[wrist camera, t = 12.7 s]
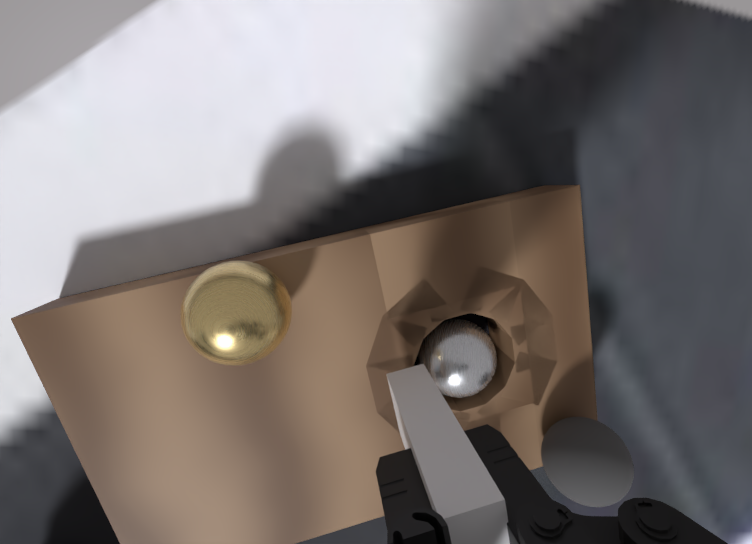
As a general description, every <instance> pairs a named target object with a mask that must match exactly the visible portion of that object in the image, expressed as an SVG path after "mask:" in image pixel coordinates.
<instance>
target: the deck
mask: <svg viewBox="0 0 752 544" xmlns="http://www.w3.org/2000/svg"><path fill="white" fill-rule="evenodd" d="M237 260H240V261H249V262H254V263H257V264H260V265H262V266H264V267H266V268H268V269H269V270H271V271H272V272H273V273H274V274H276V275H277V276H278V277H279V278H280V280H281V281H282V282H283V284H284V285H285V287H286V289H287V291H288V293H289V296H290V299H291V304H292V318H291V323H290V326H289V329H288V332H287V334H286V336H285V338H284V339H283V341H282V342H281V343H280V345H279V346H278V347H277V348H276V349H275V350H274V351H273V352H271V353H270V354H269V355H267V356H266V357H264V358H262V359H260V360H258V361H256V362H253V363H250V364H245V365H237V366H233V365H223V364H219V363H215V362H213V361H210V360H208V359H206V358H205V357H203V356H202V355H200V354H199V353H198V352H197V351H196V350H195V349H194V348H193V347H192V346H191V345H190V343H189V342H188V340H187V339H186V337H185V334H184V332H183V329H182V326H181V305H182V301H183V298H184V295H185V293H186V291H187V289H188V287H189V286H190V285H191V283H192V282H193V281H194V280H195V279H196V278H197V277H198V276H199V275H200V274H201V273H202V272H203V271H205V270H207V269H208V268H210V267H212V266H214V265H217V264H219V263H223V262H227V261H237ZM469 313H474V314H477V315H481V316H484V317H486V318H487V322H488V329H489V335H490V338H491V340H492V342H493V344H494V347H495V350H496V356H497V364H496V370H495V373H494V375H493V378H492V379H491V381H490V382H489V384H488V385H487V386H486V387H485V388H484V389H483V390H481V391H480V392H478V393H477V394H474V395H472V396H468V397H462V398H456V397H450V396H447V395H444V394H442V393H441V394H442V395H443V397H444V399H445V400H446V402H447V404H448V405H449V407H450V409H451V410H452V412H453V414H454V415H455V417H456V419H457V420H458V422H459V424H460V425H461V427H462V429H463V430H464V431H466V430H469V429H473V428H476V427H479V426H483V425H486V424H488V425H490V426H491V427H493V428H494V429H496V430H498V431H499V432H501V433H502V434H503V436H504V437H505V438H506V440H507V441H508V442H509V444H510V445H511V447H512V448H513V449H514V450H515V452H516V453H517V454H518V457H520V458H521V460H522V461H523V462H524V464H525V465H526V466H527V468H528V469H529V470H532V469H535V468H539V467H542V466H543V463H542V458H541V445H542V441H543V438H544V436H545V434H546V432H547V431H548V429H549V428H550V427H551V426H552V425H553V424H555V423H556V422H558V421H560V420H562V419H565V418H569V417H586V418H590V419H593V420H596V421H597V408H596V394H595V381H594V368H593V354H592V341H591V328H590V314H589V301H588V288H587V274H586V261H585V248H584V235H583V221H582V208H581V195H580V185H544V186H540V187H535V188H531V189H527V190H522V191H518V192H514V193H509V194H505V195H501V196H497V197H492V198H488V199H484V200H479V201H475V202H471V203H467V204H462V205H458V206H454V207H449V208H445V209H441V210H437V211H432V212H428V213H424V214H419V215H415V216H411V217H406V218H402V219H398V220H394V221H389V222H385V223H381V224H376V225H372V226H368V227H364V228H359V229H355V230H351V231H346V232H342V233H338V234H333V235H329V236H325V237H321V238H316V239H312V240H308V241H303V242H299V243H295V244H291V245H286V246H282V247H278V248H273V249H269V250H265V251H261V252H256V253H252V254H248V255H243V256H239V257H235V258H230V259H226V260H222V261H218V262H213V263H209V264H205V265H200V266H196V267H192V268H188V269H183V270H179V271H175V272H170V273H166V274H162V275H157V276H153V277H149V278H145V279H140V280H136V281H132V282H127V283H123V284H119V285H115V286H110V287H106V288H102V289H97V290H93V291H89V292H84V293H80V294H76V295H72V296H67V297H63V298H59V299H56V300H54V301H51V302H49V303H47V304H44V305H42V306H40V307H37V308H35V309H33V310H30V311H28V312H25V313H23V314H21V315H18V316H16V317H14V318H11V320H12V322H13V324H14V326H15V328H16V330H17V333H18V335H19V337H20V339H21V341H22V343H23V345H24V347H25V349H26V351H27V353H28V355H29V357H30V359H31V361H32V363H33V365H34V367H35V370H36V372H37V374H38V376H39V378H40V380H41V382H42V384H43V386H44V388H45V390H46V392H47V394H48V396H49V398H50V400H51V402H52V404H53V407H54V409H55V411H56V413H57V415H58V417H59V419H60V421H61V423H62V425H63V427H64V429H65V431H66V433H67V435H68V437H69V439H70V442H71V444H72V446H73V448H74V450H75V452H76V454H77V456H78V458H79V460H80V462H81V464H82V466H83V468H84V470H85V472H86V474H87V476H88V479H89V481H90V483H91V485H92V487H93V489H94V491H95V493H96V495H97V497H98V499H99V501H100V503H101V505H102V507H103V509H104V511H105V513H106V516H107V518H108V520H109V522H110V524H111V526H112V528H113V530H114V532H115V534H116V536H117V538H118V540H119V542H120V544H295V543H299V542H302V541H305V540H308V539H311V538H315V537H318V536H321V535H324V534H327V533H331V532H334V531H337V530H340V529H343V528H347V527H350V526H353V525H356V524H359V523H363V522H366V521H369V520H372V519H375V518H379V517H382V516H385V515H384V510H383V505H382V500H381V496H380V491H379V486H378V481H377V476H376V468H377V465H378V461H379V458H380V457H382V456H385V455H388V454H392V453H395V452H399V451H402V450H405V447H404V444H403V441H402V438H401V435H400V431H399V427H398V423H397V418H396V414H395V410H394V405H393V401H392V397H391V392H390V388H389V384H388V379H387V375H386V374H388V373H391V372H395V371H399V370H402V369H406V368H410V367H413V366H414V363H415V361H416V358H417V355H418V352H419V349H420V346H421V344H422V341H423V339H424V338H425V337H426V336H427V335H428V334H429V333H430V332H432V331H433V330H434V329H435V328H436V327H437V326H438V325H439V324H440V323H441V322H442V321H444V320H446V319H450V318H453V317H457V316H461V315H465V314H469Z"/></svg>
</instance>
